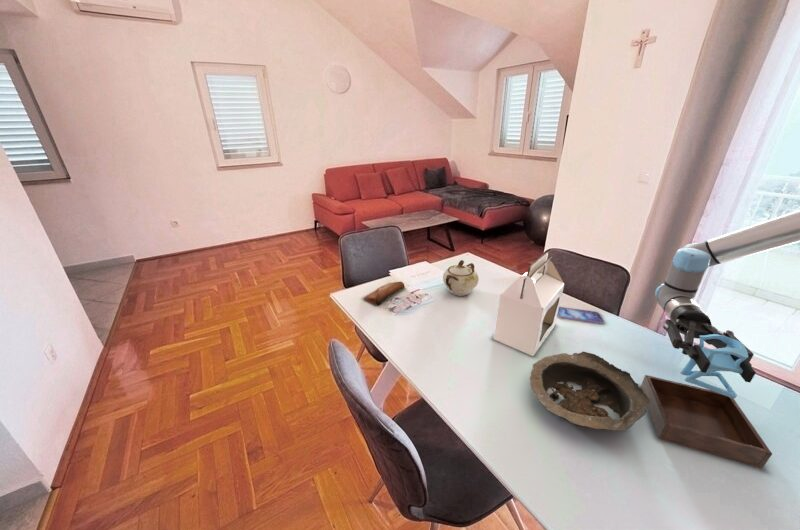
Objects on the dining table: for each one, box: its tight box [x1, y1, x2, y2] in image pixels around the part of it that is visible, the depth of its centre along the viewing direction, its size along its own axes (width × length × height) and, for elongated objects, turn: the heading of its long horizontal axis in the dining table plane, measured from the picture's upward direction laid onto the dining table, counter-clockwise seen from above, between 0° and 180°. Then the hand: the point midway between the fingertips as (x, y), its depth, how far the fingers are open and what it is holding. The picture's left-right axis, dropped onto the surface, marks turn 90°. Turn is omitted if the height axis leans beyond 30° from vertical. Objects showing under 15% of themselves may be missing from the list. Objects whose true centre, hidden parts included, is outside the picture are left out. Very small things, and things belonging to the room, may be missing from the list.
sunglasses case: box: [363, 281, 405, 306], centre depth 133 cm, size 18×7×7 cm
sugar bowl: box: [442, 259, 480, 297], centre depth 133 cm, size 20×15×15 cm
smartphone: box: [557, 306, 604, 324], centre depth 118 cm, size 7×1×15 cm
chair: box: [680, 334, 748, 399], centre depth 71 cm, size 8×8×12 cm
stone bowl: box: [529, 351, 650, 432], centre depth 78 cm, size 25×25×9 cm
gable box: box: [493, 251, 565, 357], centre depth 103 cm, size 22×13×28 cm, turn 139°
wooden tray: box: [639, 374, 773, 469], centre depth 74 cm, size 18×17×5 cm
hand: (727, 372), depth 66 cm, fingers closed on chair, 6 cm apart
